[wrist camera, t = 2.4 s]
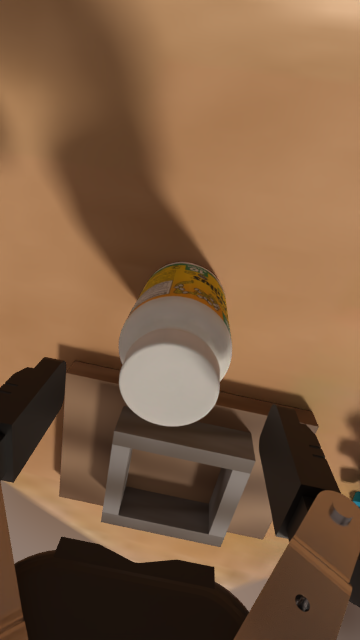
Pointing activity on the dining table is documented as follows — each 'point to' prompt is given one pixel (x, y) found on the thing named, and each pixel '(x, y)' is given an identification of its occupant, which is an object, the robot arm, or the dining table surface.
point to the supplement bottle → (175, 346)
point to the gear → (357, 499)
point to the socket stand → (165, 462)
